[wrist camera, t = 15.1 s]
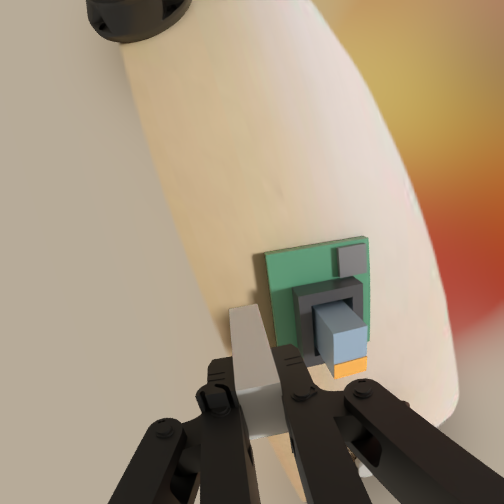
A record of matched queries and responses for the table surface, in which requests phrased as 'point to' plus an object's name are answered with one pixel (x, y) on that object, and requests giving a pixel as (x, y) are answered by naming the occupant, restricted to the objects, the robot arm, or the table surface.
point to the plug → (340, 338)
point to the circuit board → (316, 288)
